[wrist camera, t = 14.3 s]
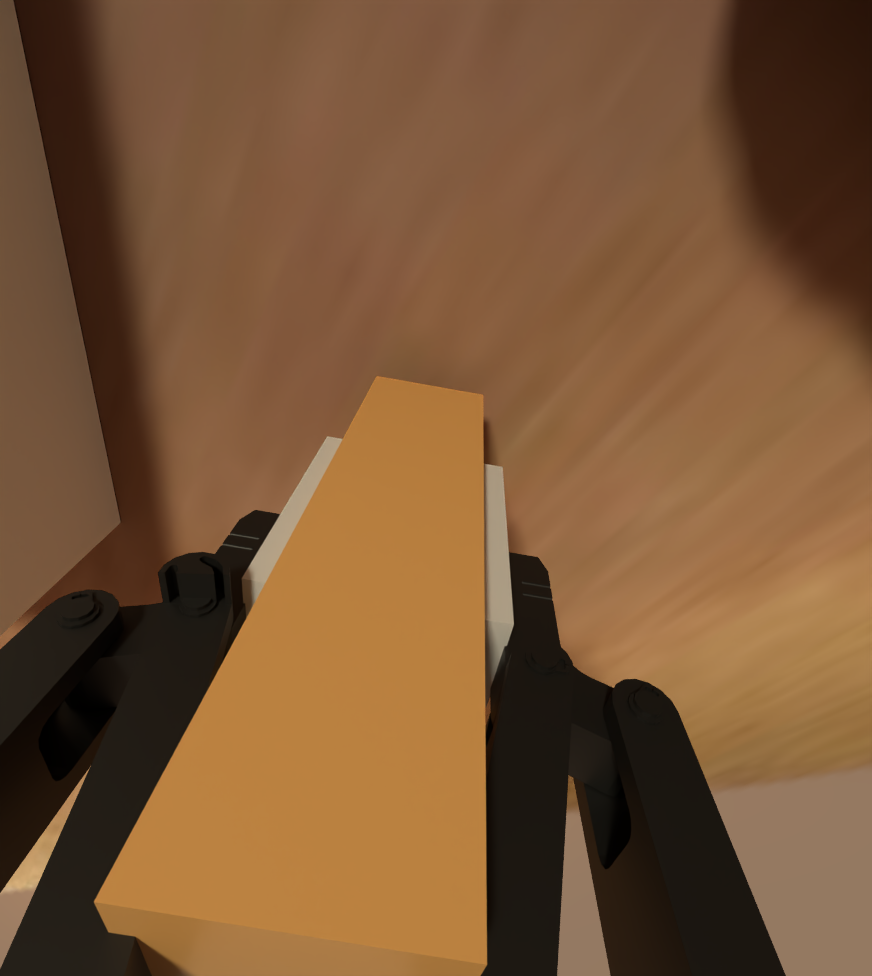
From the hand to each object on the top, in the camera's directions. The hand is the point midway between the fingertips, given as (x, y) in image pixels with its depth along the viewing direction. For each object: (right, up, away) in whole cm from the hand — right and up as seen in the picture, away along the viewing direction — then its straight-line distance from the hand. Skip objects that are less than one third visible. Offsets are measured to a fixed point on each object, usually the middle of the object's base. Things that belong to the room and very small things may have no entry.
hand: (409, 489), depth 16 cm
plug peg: (0, +2, +4) cm, 4 cm away
